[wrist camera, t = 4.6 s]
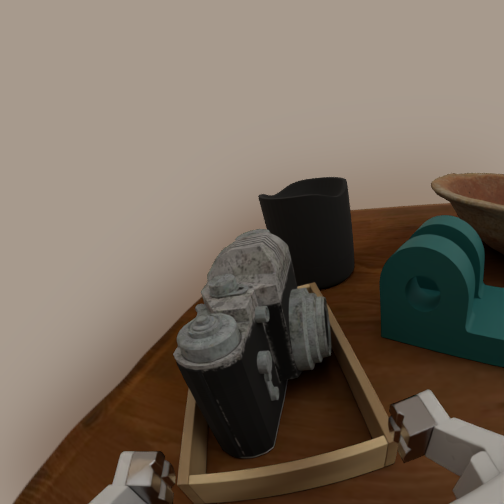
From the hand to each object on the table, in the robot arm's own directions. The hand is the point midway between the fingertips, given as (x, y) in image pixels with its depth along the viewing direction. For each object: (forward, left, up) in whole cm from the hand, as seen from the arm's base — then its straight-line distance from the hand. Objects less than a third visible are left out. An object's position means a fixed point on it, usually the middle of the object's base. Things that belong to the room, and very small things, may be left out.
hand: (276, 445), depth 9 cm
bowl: (+32, +18, -7) cm, 37 cm away
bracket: (+17, +7, -7) cm, 20 cm away
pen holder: (+7, +26, -7) cm, 28 cm away
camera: (+1, +11, -7) cm, 13 cm away
